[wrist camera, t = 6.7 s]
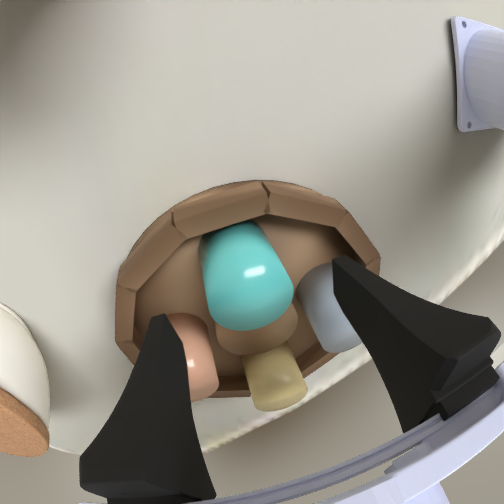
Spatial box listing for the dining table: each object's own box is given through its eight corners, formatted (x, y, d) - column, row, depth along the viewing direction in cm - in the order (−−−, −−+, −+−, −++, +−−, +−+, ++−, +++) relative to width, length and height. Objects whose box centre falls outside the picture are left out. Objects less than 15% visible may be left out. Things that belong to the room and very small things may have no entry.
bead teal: (261, 208, 15) (288, 254, 12) (271, 265, 17) (296, 315, 14) (189, 229, 15) (197, 281, 11) (208, 284, 17) (221, 339, 14)
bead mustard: (285, 329, 21) (305, 376, 17) (291, 357, 23) (309, 399, 19) (235, 346, 20) (248, 395, 17) (246, 372, 22) (260, 416, 19)
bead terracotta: (196, 305, 17) (206, 360, 14) (215, 341, 20) (226, 393, 16) (141, 322, 17) (141, 378, 14) (164, 356, 19) (169, 407, 16)
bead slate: (347, 254, 18) (382, 297, 15) (347, 295, 20) (376, 337, 17) (292, 274, 18) (320, 323, 15) (299, 314, 20) (322, 360, 17)
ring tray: (359, 148, 15) (385, 162, 13) (357, 332, 25) (370, 353, 23) (69, 239, 14) (58, 266, 12) (178, 392, 23) (181, 417, 22)
